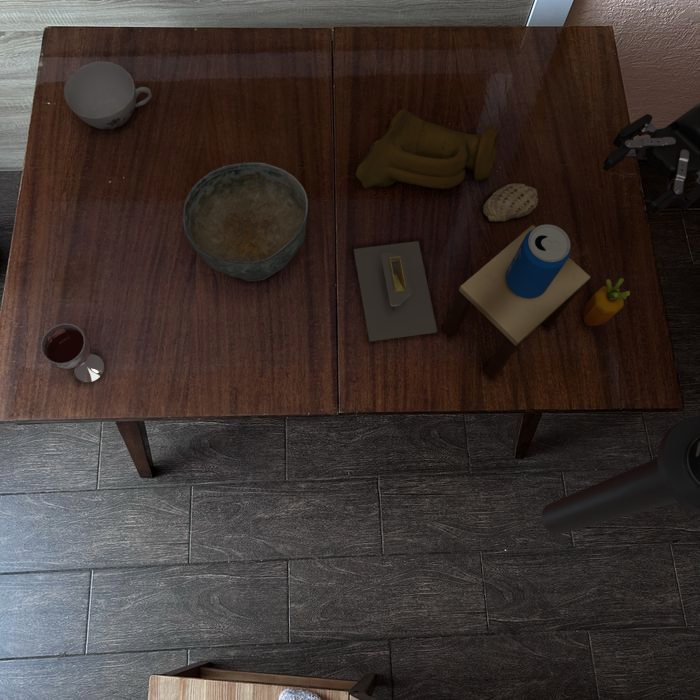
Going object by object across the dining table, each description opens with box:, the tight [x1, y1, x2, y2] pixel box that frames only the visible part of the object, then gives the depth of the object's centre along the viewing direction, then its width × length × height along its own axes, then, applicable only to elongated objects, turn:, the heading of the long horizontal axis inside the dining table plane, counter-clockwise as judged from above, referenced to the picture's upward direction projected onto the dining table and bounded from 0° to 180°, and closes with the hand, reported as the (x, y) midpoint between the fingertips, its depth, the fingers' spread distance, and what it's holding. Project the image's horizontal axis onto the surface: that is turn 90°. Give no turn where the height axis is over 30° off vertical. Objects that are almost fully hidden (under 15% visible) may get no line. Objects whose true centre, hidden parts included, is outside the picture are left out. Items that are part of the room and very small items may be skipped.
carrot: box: [583, 277, 631, 327], centre depth 115 cm, size 5×5×15 cm
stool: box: [441, 224, 591, 380], centre depth 113 cm, size 12×16×18 cm
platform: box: [353, 240, 438, 342], centre depth 120 cm, size 12×18×7 cm, turn 9°
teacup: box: [63, 60, 153, 130], centre depth 130 cm, size 15×12×8 cm
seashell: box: [482, 182, 539, 223], centre depth 127 cm, size 8×6×10 cm
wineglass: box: [40, 322, 105, 383], centre depth 111 cm, size 7×7×12 cm
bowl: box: [182, 161, 309, 282], centre depth 118 cm, size 20×19×15 cm
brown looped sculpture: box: [355, 108, 500, 190], centre depth 126 cm, size 18×13×22 cm
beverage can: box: [506, 224, 571, 299], centre depth 99 cm, size 6×6×12 cm
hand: (627, 187), depth 97 cm, fingers open, 8 cm apart
